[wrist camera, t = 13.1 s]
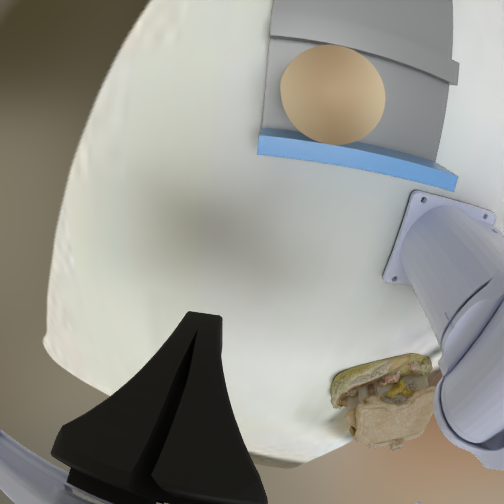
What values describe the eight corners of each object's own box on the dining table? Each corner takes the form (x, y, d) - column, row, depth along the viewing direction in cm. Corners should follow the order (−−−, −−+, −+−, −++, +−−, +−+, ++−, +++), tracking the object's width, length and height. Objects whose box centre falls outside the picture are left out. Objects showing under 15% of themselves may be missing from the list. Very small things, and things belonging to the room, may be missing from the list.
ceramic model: (444, 345, 26) (469, 414, 18) (416, 391, 32) (430, 449, 24) (334, 361, 28) (342, 444, 20) (326, 405, 34) (329, 469, 26)
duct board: (444, -13, 8) (474, -24, 5) (425, 170, 16) (453, 191, 13) (279, -60, 9) (279, -88, 5) (261, 140, 17) (257, 154, 13)
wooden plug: (347, 57, 12) (383, 49, 7) (350, 121, 15) (384, 146, 10) (277, 56, 13) (276, 44, 8) (282, 121, 15) (284, 145, 10)
